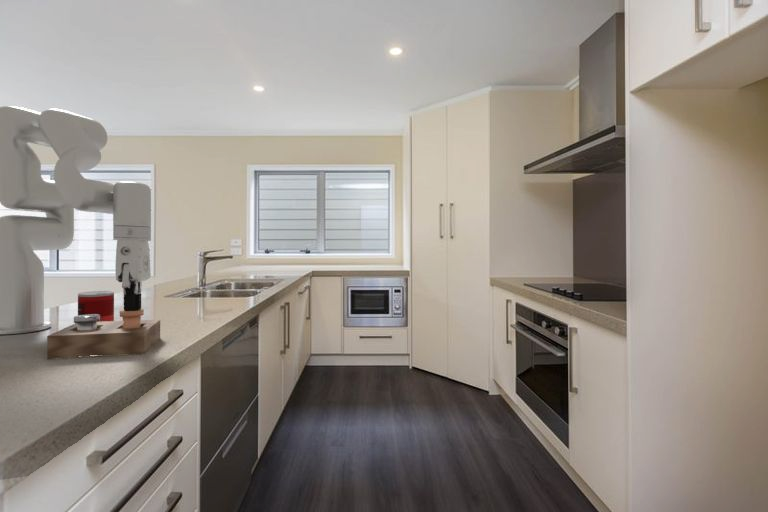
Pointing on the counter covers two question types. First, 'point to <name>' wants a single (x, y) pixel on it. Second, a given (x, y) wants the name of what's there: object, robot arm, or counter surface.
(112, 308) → the canned food
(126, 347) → the socket block
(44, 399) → the counter surface
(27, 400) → the counter surface
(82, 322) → the grey plug
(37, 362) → the counter surface
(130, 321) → the terracotta plug
